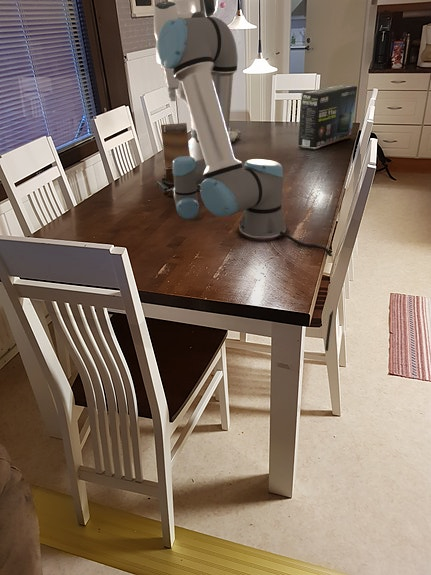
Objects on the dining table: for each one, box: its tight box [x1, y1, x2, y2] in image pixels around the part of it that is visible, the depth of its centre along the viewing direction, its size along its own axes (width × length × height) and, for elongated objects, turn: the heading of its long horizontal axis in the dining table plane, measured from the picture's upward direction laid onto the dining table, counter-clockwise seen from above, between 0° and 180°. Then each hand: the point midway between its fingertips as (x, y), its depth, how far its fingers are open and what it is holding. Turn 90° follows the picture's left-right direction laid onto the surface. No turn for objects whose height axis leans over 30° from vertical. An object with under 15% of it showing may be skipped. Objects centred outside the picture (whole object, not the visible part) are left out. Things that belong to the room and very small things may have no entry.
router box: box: [297, 84, 358, 151], centre depth 238 cm, size 36×11×27 cm, turn 134°
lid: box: [160, 122, 190, 168], centre depth 172 cm, size 16×10×9 cm
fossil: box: [228, 127, 242, 144], centre depth 256 cm, size 18×11×15 cm
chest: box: [162, 158, 174, 197], centre depth 186 cm, size 15×10×11 cm, turn 9°
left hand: (172, 99), depth 166 cm, fingers open, 5 cm apart
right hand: (178, 176), depth 182 cm, fingers closed on chest, 10 cm apart
